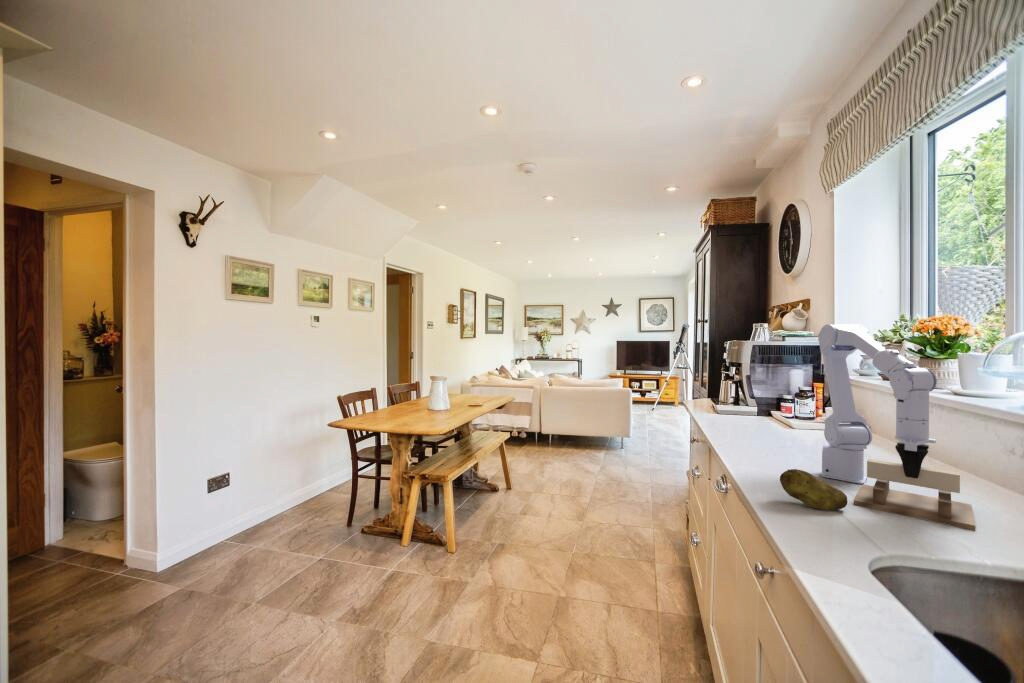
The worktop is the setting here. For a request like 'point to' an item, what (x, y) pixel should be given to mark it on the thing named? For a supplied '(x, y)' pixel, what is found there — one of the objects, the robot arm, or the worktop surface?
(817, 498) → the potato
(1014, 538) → the worktop surface
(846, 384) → the robot arm
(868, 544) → the worktop surface
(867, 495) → the wooden board stand
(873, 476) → the clay bar
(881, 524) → the worktop surface
